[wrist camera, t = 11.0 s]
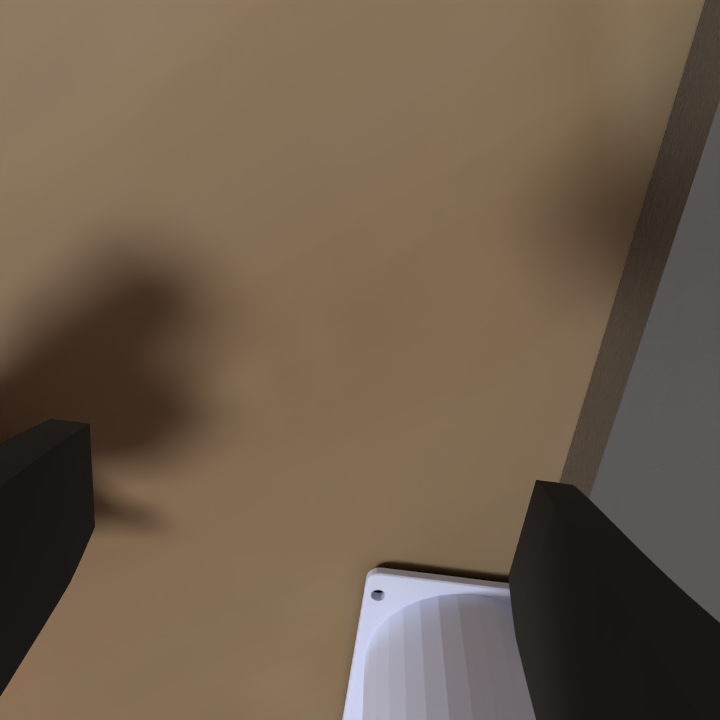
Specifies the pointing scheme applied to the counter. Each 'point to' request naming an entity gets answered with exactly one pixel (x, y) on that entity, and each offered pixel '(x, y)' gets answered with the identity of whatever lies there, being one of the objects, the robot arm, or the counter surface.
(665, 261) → the keyhole plate
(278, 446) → the counter surface
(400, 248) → the counter surface
